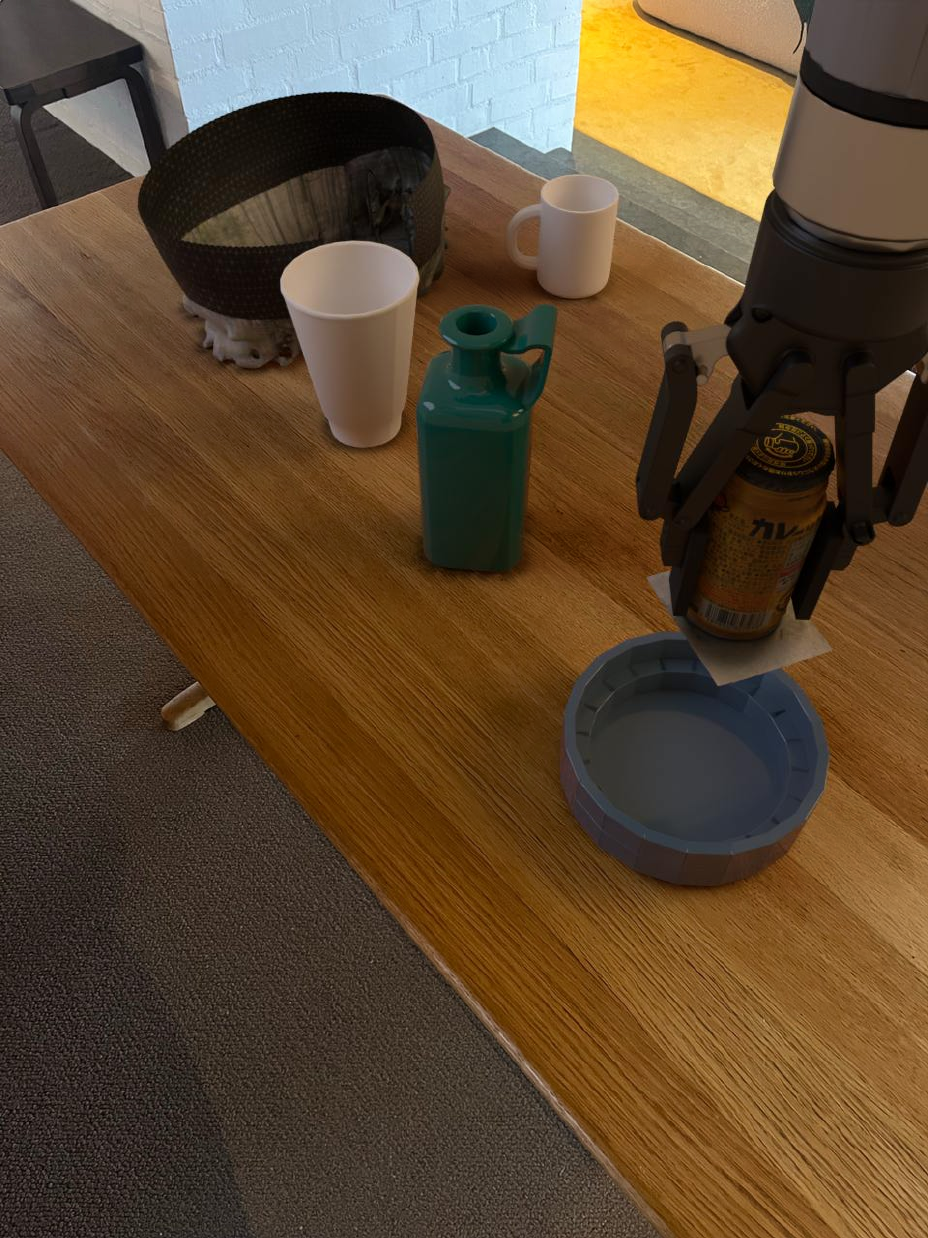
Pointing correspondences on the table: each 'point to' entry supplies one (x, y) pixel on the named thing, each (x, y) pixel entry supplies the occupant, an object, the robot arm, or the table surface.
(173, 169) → the basket
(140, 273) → the table surface
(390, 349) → the cup
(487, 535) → the pitcher
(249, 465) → the table surface
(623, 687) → the bowl
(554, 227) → the mug
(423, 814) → the table surface
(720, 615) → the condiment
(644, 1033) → the table surface
